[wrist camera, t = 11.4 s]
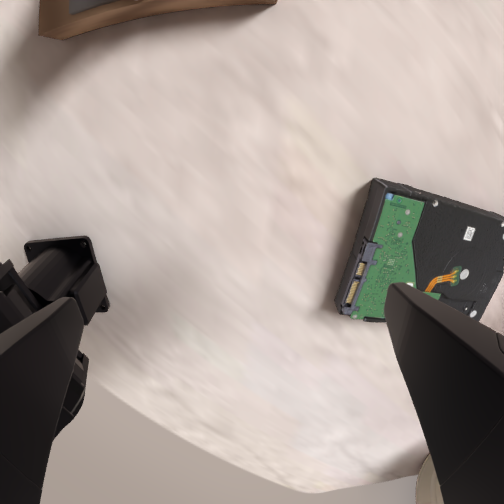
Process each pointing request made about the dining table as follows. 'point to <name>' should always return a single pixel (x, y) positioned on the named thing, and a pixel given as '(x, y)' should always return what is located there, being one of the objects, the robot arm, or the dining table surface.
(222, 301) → the dining table surface
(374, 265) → the disk drive
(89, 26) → the walnut stand
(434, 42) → the dining table surface
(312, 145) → the dining table surface
